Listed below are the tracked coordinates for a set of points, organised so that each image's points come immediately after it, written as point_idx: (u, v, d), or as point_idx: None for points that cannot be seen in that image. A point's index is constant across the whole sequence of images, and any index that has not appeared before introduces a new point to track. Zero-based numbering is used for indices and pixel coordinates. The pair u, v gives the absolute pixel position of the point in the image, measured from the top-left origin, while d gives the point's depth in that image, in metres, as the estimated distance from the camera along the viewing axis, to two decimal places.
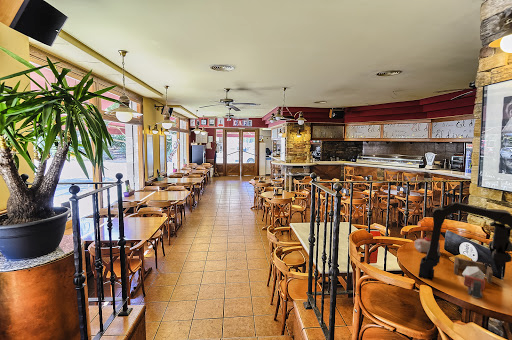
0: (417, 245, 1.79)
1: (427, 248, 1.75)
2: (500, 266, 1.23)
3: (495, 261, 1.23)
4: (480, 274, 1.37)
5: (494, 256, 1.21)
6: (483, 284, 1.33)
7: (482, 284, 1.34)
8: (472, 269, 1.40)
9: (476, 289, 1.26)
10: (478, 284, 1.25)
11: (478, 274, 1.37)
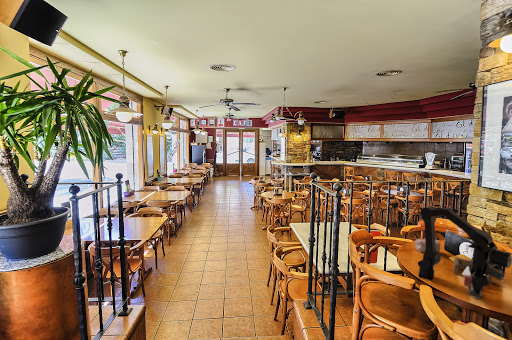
0: (417, 245, 1.79)
1: None
2: (478, 289, 1.22)
3: (473, 284, 1.22)
4: None
5: (472, 279, 1.20)
6: None
7: None
8: None
9: None
10: None
11: None
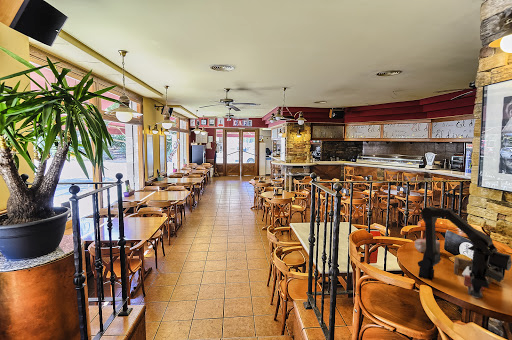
0: (417, 245, 1.79)
1: None
2: (478, 288, 1.24)
3: (473, 283, 1.25)
4: None
5: (472, 282, 1.20)
6: None
7: None
8: None
9: None
10: None
11: None
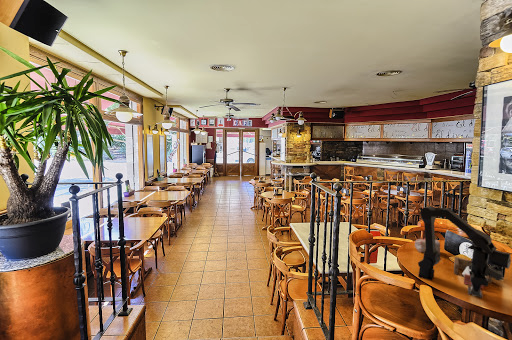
0: (417, 245, 1.79)
1: None
2: (477, 287, 1.25)
3: None
4: None
5: (471, 280, 1.21)
6: None
7: None
8: None
9: None
10: None
11: None
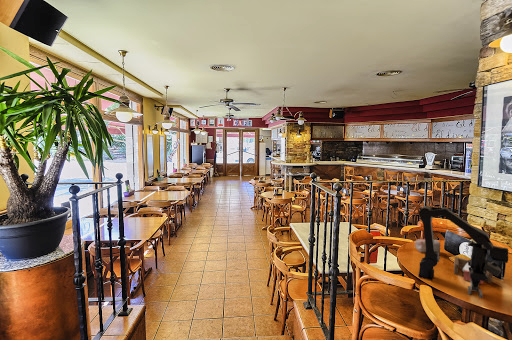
0: (418, 245, 1.79)
1: None
2: (476, 282, 1.30)
3: (472, 278, 1.30)
4: None
5: (471, 276, 1.25)
6: None
7: None
8: None
9: None
10: None
11: None
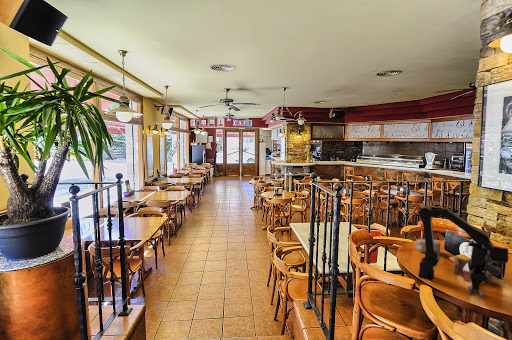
0: (418, 245, 1.79)
1: None
2: (477, 285, 1.27)
3: (472, 280, 1.28)
4: None
5: (471, 276, 1.25)
6: None
7: None
8: None
9: None
10: None
11: None
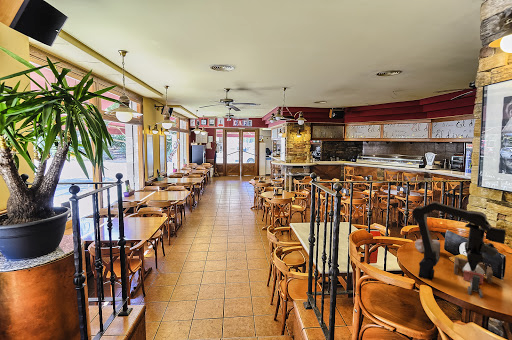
0: (418, 245, 1.79)
1: None
2: (474, 266, 1.26)
3: (469, 261, 1.27)
4: (479, 270, 1.41)
5: (468, 257, 1.24)
6: (482, 278, 1.38)
7: (480, 278, 1.39)
8: None
9: (475, 283, 1.31)
10: (477, 278, 1.30)
11: (477, 270, 1.41)
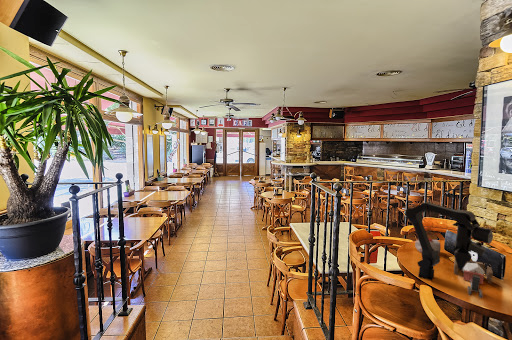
0: (418, 245, 1.79)
1: None
2: (461, 265, 1.27)
3: (457, 260, 1.27)
4: (479, 270, 1.41)
5: (455, 255, 1.25)
6: (482, 278, 1.38)
7: (480, 278, 1.39)
8: (471, 265, 1.44)
9: (475, 283, 1.31)
10: (477, 278, 1.30)
11: (477, 270, 1.41)
